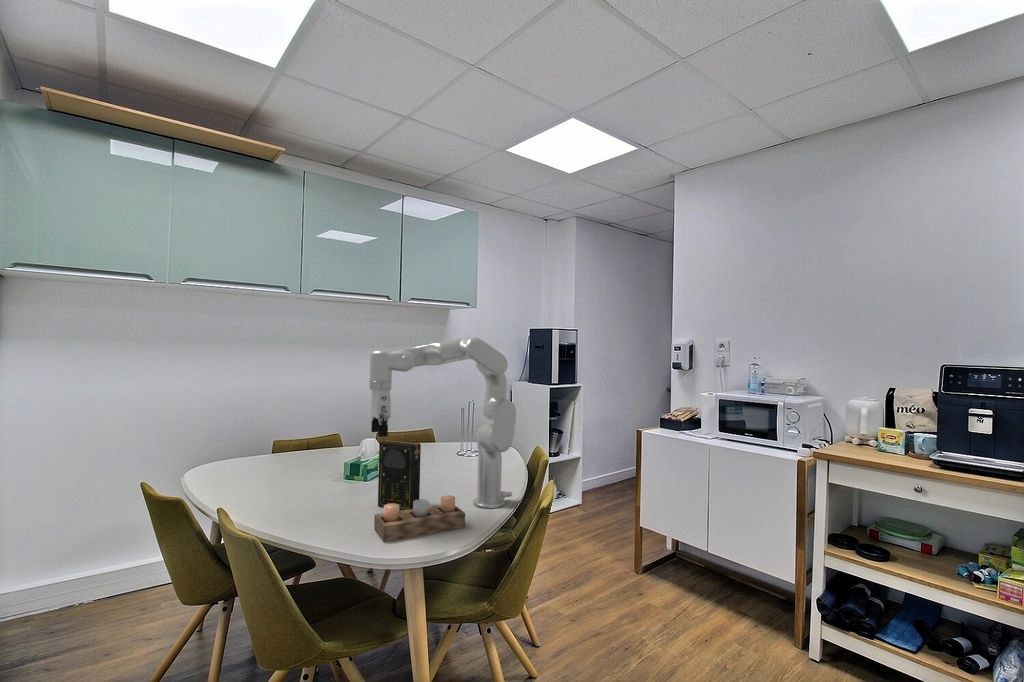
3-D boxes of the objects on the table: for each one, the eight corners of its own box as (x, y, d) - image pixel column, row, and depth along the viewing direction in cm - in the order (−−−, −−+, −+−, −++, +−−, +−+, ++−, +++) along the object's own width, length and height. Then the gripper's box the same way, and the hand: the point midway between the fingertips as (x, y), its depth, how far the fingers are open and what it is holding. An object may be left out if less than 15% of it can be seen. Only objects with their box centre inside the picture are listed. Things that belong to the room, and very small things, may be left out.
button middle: (424, 512, 165) (425, 498, 165) (429, 517, 161) (430, 502, 161) (410, 515, 163) (411, 500, 163) (415, 519, 158) (415, 504, 158)
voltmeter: (375, 507, 182) (376, 442, 183) (388, 500, 190) (389, 438, 191) (410, 513, 177) (411, 445, 177) (422, 506, 185) (423, 441, 185)
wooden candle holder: (451, 516, 174) (451, 502, 174) (464, 527, 163) (465, 512, 164) (374, 529, 160) (374, 514, 160) (383, 542, 150) (383, 526, 150)
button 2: (451, 508, 170) (451, 494, 170) (457, 512, 166) (457, 498, 166) (438, 510, 168) (438, 496, 168) (443, 515, 163) (444, 500, 163)
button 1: (396, 517, 160) (396, 502, 160) (400, 522, 156) (401, 507, 156) (381, 519, 158) (382, 504, 158) (385, 524, 153) (386, 509, 154)
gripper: (397, 387, 162) (396, 437, 162) (384, 383, 177) (383, 429, 177) (375, 387, 159) (374, 439, 158) (364, 384, 174) (363, 431, 173)
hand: (379, 434), depth 168 cm, fingers open, 9 cm apart
